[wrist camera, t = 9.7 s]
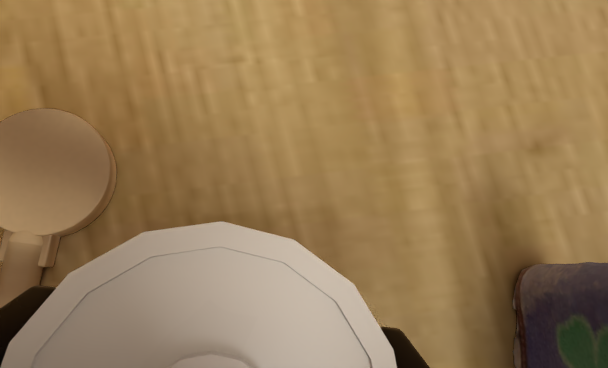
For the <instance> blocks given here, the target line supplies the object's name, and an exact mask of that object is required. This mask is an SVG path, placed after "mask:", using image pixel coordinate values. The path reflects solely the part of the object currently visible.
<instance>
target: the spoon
mask: <svg viewBox="0 0 608 368" xmlns="http://www.w3.org/2000/svg"><path fill="white" fill-rule="evenodd" d="M116 178H117V169H116V162H115V159H114V155H113V153H112V151H111V149H110V147H109V145H108V144H107V142H106V141H105V140H104V138H103V137H102V136H101V135H100V134H99V133H98V132H97V131H96V129H95V128H94V127H92V126H91V125H90V124H89V123H88V122H86V121H85V120H84V119H82V118H80V117H78V116H76V115H74V114H72V113H69V112H66V111H62V110H58V109H49V108H43V109H32V110H27V111H23V112H20V113H17V114H14V115H12V116H10V117H8V118H6V119H4V120H3V121H1V122H0V227H1V228H4V229H5V230H4V233H3V237H2V241H1V245H0V262H3V263H2V267H1V271H0V308H1V307H3V306H4V305H6V304H7V303H9V302H10V301H11V300H13V299H14V298H16V297H17V296H19V295H20V294H22V293H23V292H24V291H26V290H27V289H29V288H30V287H32V286H36V285H39V283H40V279H41V275H42V271H43V267H53V266H54V262H55V258H56V254H57V249H58V245H59V241H60V237H61V236H65V235H69V234H72V233H74V232H76V231H79V230H81V229H82V228H84V227H86V226H88V225H89V224H90V223H91V222H93V221H94V220H95V219H96V218H97V217H98V216H99V215H100V214H101V213H102V212H103V210H104V209H105V208H106V206H107V205H108V203H109V201H110V199H111V197H112V195H113V192H114V189H115V185H116Z"/></svg>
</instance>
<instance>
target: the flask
mask: <svg viewBox="0 0 608 368" xmlns="http://www.w3.org/2000/svg"><path fill="white" fill-rule="evenodd" d="M513 309H516V310H517V312H518V313H517V331H516V334H517V335H516V338H514V345H515V347H514V350H513V354H514V357H515V358H514V364H515V366H516V367H515V368H608V263H593V262H586V263H579V264H537V265H533V266H530V267H528V268H525V269H523V270H522V271H521V273H520V276H519V277H518V281H517V284H516V286H515V293H514V299H513Z"/></svg>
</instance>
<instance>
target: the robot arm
mask: <svg viewBox="0 0 608 368" xmlns="http://www.w3.org/2000/svg"><path fill="white" fill-rule="evenodd" d="M55 289H56V288H55V287H48V286H40V285H36V286H32V287H30V288H29V289H27V290H26V291H24V292H23V293H22V294H20V295H19V296H17V297H16V298H14V299H13V300H11V301H10V302H9V303H7V304H6V305H4V306H3V307H1V308H0V367H1V364H2V361H3V358H4V356H5V353H6V350H7V348H8V345H9V343H10V341H11V340H12V339H13V338H14V337H15V336H16V334H17V333H18V332H19V331H20V330H21V329H22V327H23V326H24V325H25V324H26V323H27V322H28V320H29V319H30V318H31V317H32V316H33V315H34V313H35V312H36V311H37V310H38V309H39V308H40V306H41V305H42V304H43V303H44V302H45V301H46V299H47V298H48V297H49V296H50V295H51V294H52V292H53V291H54V290H55ZM380 328H381V330H382V331H383V333H384V335H385V336H386V338H387V340H388V341H389V343H390V345H391V346H392V348H393V350H394V355H395V360H396V365H397V368H430V367H429V366H428V365H427V364H426V362H425V361H424V360H423V358H422V357H421V356H420V354H419V353H418V352H417V350H416V349H415V348H414V346H413V345H412V344H411V342H410V341H409V340H408V338H407V337H406V336H405V334H404V333H403V332H402V331H401V330H400V329H397V328H390V327H380Z"/></svg>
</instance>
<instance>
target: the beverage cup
mask: <svg viewBox="0 0 608 368" xmlns="http://www.w3.org/2000/svg"><path fill="white" fill-rule="evenodd" d="M0 368H397V365H396V360H395V355H394V350H393V348H392V346H391V345H390V343H389V341H388V340H387V338H386V336H385V335H384V333H383V331H382V330H381V328H380V327H379V325H378V323H377V322H376V320H375V318H374V317H373V315H372V313H371V312H370V310H369V308H368V307H367V305H366V304H365V302H364V300H363V299H362V297H361V295H360V294H359V292H358V290H357V289H356V287H355V285H354V284H353V283H351V282H350V281H349V280H347V279H346V278H345V277H343V276H342V275H341V274H339V273H338V272H337V271H335V270H334V269H333V268H331V267H330V266H329V265H327V264H326V263H325V262H323V261H322V260H321V259H319V258H318V257H317V256H315V255H314V254H313V253H311V252H310V251H309V250H307V249H306V248H305V247H303V246H302V245H301V244H299V243H298V242H297V241H295V240H293V239H289V238H285V237H281V236H278V235H274V234H270V233H266V232H262V231H258V230H254V229H250V228H246V227H242V226H238V225H234V224H230V223H226V222H223V221H220V222H213V223H206V224H198V225H191V226H184V227H176V228H169V229H162V230H155V231H147V232H143V233H141V234H139V235H137V236H135V237H134V238H132V239H130V240H128V241H126V242H125V243H123V244H121V245H119V246H117V247H116V248H114V249H112V250H110V251H108V252H106V253H105V254H103V255H101V256H99V257H97V258H96V259H94V260H92V261H90V262H88V263H87V264H85V265H83V266H81V267H79V268H78V269H76V270H74V271H72V272H70V273H69V274H68V275H67V276H66V277H65V278H64V280H63V281H62V282H61V283H60V284H59V285H58V287H57V288H56V289H55V290H54V291H53V292H52V294H51V295H50V296H49V297H48V298H47V299H46V301H45V302H44V303H43V304H42V305H41V306H40V308H39V309H38V310H37V311H36V312H35V313H34V315H33V316H32V317H31V318H30V319H29V320H28V322H27V323H26V324H25V325H24V326H23V327H22V329H21V330H20V331H19V332H18V333H17V334H16V336H15V337H14V338H13V339H12V340H11V341H10V343H9V345H8V348H7V350H6V353H5V356H4V358H3V361H2V364H1V367H0Z"/></svg>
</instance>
